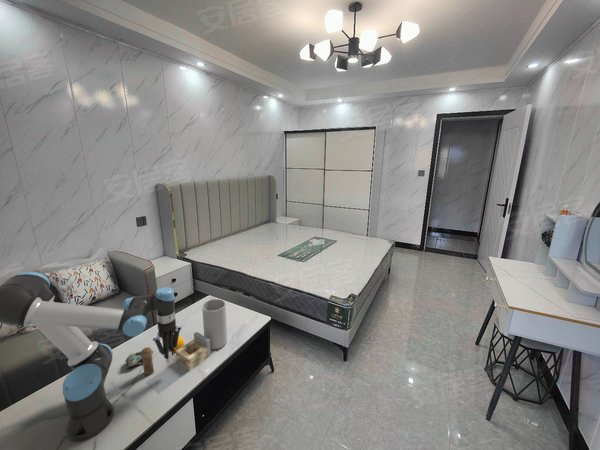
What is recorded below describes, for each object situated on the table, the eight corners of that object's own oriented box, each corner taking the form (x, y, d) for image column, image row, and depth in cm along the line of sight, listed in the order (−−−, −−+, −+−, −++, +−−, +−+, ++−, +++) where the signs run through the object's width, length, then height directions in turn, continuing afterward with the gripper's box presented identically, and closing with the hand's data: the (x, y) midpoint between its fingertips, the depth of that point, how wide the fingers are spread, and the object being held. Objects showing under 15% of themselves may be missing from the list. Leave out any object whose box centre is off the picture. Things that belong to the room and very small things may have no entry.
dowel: (147, 378, 127) (144, 354, 124) (143, 375, 129) (139, 351, 126) (155, 373, 131) (152, 349, 127) (151, 369, 133) (148, 346, 129)
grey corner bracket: (159, 395, 119) (156, 375, 116) (146, 384, 124) (143, 364, 122) (211, 356, 143) (209, 339, 140) (198, 348, 148) (196, 331, 145)
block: (189, 370, 132) (188, 359, 130) (176, 361, 137) (175, 350, 136) (207, 357, 141) (207, 347, 139) (194, 349, 146) (194, 339, 145)
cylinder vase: (200, 347, 149) (197, 309, 143) (212, 334, 161) (210, 297, 154) (220, 352, 146) (218, 312, 140) (230, 337, 158) (229, 301, 152)
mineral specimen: (126, 372, 129) (131, 358, 129) (122, 361, 135) (127, 347, 135) (152, 367, 138) (157, 354, 138) (148, 356, 144) (152, 343, 144)
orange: (173, 356, 142) (172, 344, 140) (166, 349, 147) (164, 338, 145) (187, 348, 148) (186, 337, 146) (179, 342, 153) (178, 331, 151)
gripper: (157, 329, 115) (160, 374, 120) (184, 316, 125) (186, 357, 131) (148, 323, 118) (151, 367, 124) (174, 310, 129) (177, 351, 135)
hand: (169, 362), depth 127 cm, fingers closed
